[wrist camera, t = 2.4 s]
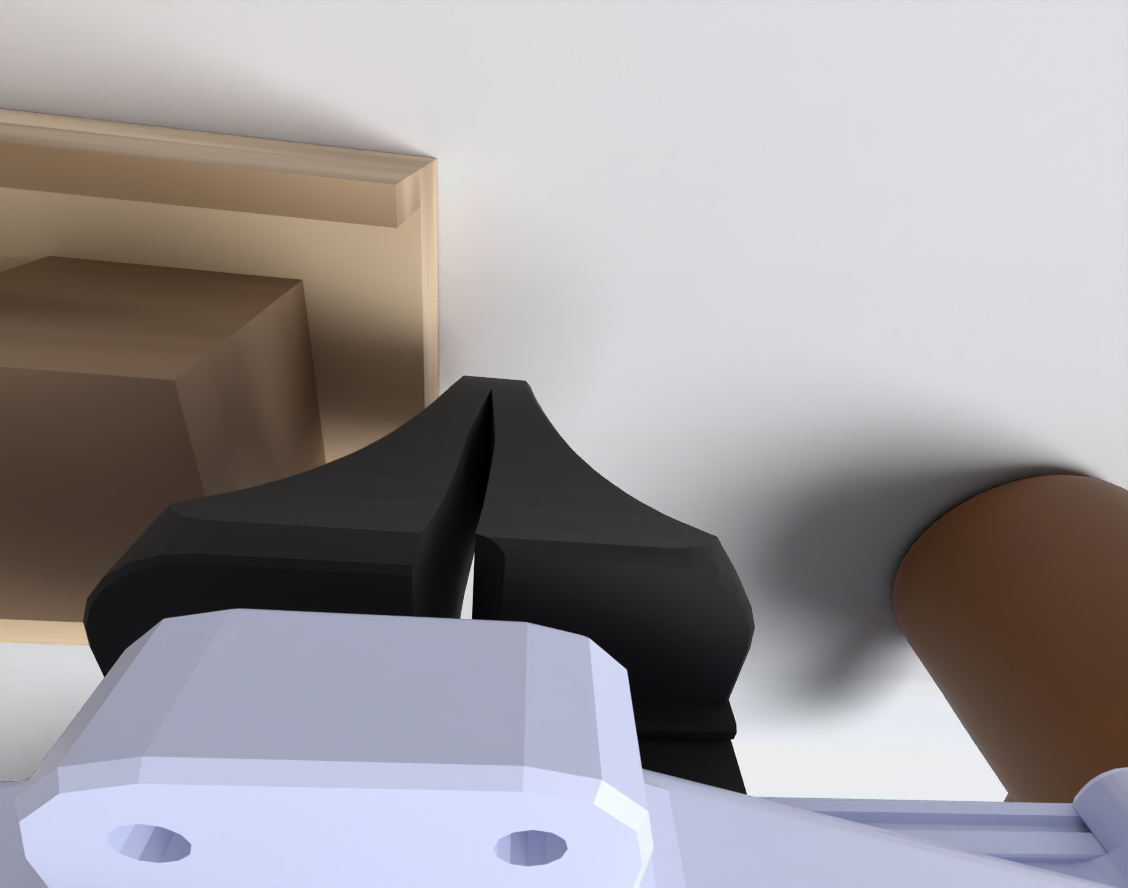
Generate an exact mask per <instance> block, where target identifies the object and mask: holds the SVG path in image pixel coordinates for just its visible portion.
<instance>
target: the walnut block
mask: <svg viewBox="0 0 1128 888" xmlns="http://www.w3.org/2000/svg"><path fill="white" fill-rule="evenodd" d="M324 464H326V459H325V451H324V444H323V436H322V428H321V420H320V412H319V404H318V397H317V389H316V381H315V373H314V365H313V357H312V350H311V342H310V334H309V326H308V318H307V310H306V303H305V295H304V287H303V280H300V279H290V278H279V277H269V276H258V275H247V274H237V273H226V272H216V271H205V270H194V269H184V268H173V267H163V266H152V265H141V264H131V263H120V262H110V261H99V260H88V259H78V258H67V257H57V256H47V257H44V258H41V259H38V260H35V261H32V262H29V263H26V264H23V265H20V266H17V267H14V268H11V269H8V270H5V271H2V272H0V619H10V620H34V621H57V622H81V623H83V618H84V612H85V607H86V601H87V598H88V597H89V595H90V594H91V593H92V591H93V590H94V589H95V587H96V586H97V584H98V583H99V582H100V580H101V579H102V578H103V577H104V576H105V575H106V573H107V572H108V571H109V570H110V569H111V568H112V567H113V566H114V565H115V563H116V562H117V561H118V560H119V559H120V558H121V557H122V556H123V554H124V553H125V552H126V551H127V550H128V549H129V548H130V547H131V546H132V544H133V543H134V542H135V541H136V540H137V539H138V538H139V537H140V535H141V534H142V533H143V532H144V531H145V530H146V529H147V528H148V527H149V526H150V525H151V524H152V522H153V521H154V520H155V519H156V518H157V517H158V516H159V515H160V514H161V513H162V512H163V511H164V510H165V509H166V508H167V507H168V506H169V505H170V504H171V503H175V502H181V501H187V500H192V499H197V498H202V497H207V496H212V495H217V494H222V493H227V492H232V491H237V490H242V489H246V488H250V487H254V486H258V485H262V484H266V483H269V482H273V481H276V480H280V479H284V478H287V477H290V476H293V475H296V474H299V473H302V472H306V471H308V470H311V469H314V468H316V467H319V466H321V465H324Z"/></svg>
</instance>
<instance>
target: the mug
mask: <svg viewBox="0 0 1128 888" xmlns="http://www.w3.org/2000/svg"><path fill="white" fill-rule="evenodd" d="M893 608H894V612H895V616H896V618H897V621H898V623H899V625H900V627H901V630H902V632H903V633H904V635H905V637H906V639H907V640H908V642H909V644H910V645H911V647H912V648H913V650H914V651H915V653H916V655H917V656H918V658H919V659H920V661H921V662H922V663H923V665H924V666H925V668H926V669H927V671H928V672H929V674H930V675H931V677H932V678H933V680H934V681H935V683H936V684H937V686H938V687H939V689H940V690H941V692H942V693H943V695H944V697H945V698H946V700H947V701H948V703H949V704H950V706H951V707H952V709H953V711H954V712H955V714H956V715H957V717H958V718H959V720H960V721H961V723H962V725H963V726H964V728H965V729H966V731H967V732H968V734H969V735H970V737H971V738H972V740H973V741H974V743H975V744H976V746H977V747H978V749H979V750H980V752H981V753H982V755H983V756H984V758H985V759H986V760H987V762H988V763H989V765H990V766H991V768H992V769H993V771H994V772H995V774H996V775H997V777H998V778H999V780H1000V781H1001V783H1002V784H1003V786H1004V787H1005V789H1006V790H1007V792H1008V795H1007V796H1006V798H1005V800H1004V802H1024V803H1072V804H1073V801H1074V798H1075V796H1076V795H1077V794H1078V793H1079V791H1080V790H1081V789H1082V788H1083V787H1084V786H1085V785H1086V784H1087V783H1088V782H1089V781H1090V780H1092V779H1094V778H1095V777H1097V776H1098V775H1100V774H1102V773H1104V772H1107V771H1110V770H1113V769H1117V768H1126V767H1128V491H1127V490H1126V489H1124V488H1121V487H1119V486H1116V485H1114V484H1112V483H1109V482H1106V481H1103V480H1100V479H1096V478H1091V477H1085V476H1076V475H1060V474H1059V475H1043V476H1037V477H1030V478H1025V479H1021V480H1017V481H1013V482H1009V483H1006V484H1004V485H1001V486H998V487H995V488H992V489H990V490H988V491H985V492H983V493H981V494H979V495H976V496H975V497H973V498H971V499H969V500H967V501H965V502H963V503H962V504H960V505H958V506H957V507H955V508H954V509H952V510H951V511H949V512H948V513H946V514H945V515H944V516H942V517H941V518H940V519H938V520H937V521H936V522H935V523H933V524H932V525H931V526H930V527H929V528H928V529H927V530H926V531H925V532H924V533H923V534H922V535H921V536H920V537H919V538H918V539H917V540H916V542H915V543H914V544H913V545H912V546H911V548H910V549H909V551H908V552H907V554H906V555H905V556H904V558H903V560H902V562H901V564H900V566H899V568H898V571H897V574H896V576H895V580H894V586H893Z"/></svg>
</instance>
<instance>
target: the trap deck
mask: <svg viewBox="0 0 1128 888" xmlns="http://www.w3.org/2000/svg"><path fill="white" fill-rule="evenodd" d="M47 256H57V257H67V258H78V259H88V260H99V261H110V262H120V263H131V264H141V265H152V266H163V267H173V268H184V269H194V270H205V271H216V272H226V273H237V274H247V275H258V276H269V277H279V278H290V279H300V280H303V287H304V295H305V303H306V310H307V318H308V326H309V334H310V342H311V350H312V357H313V365H314V373H315V381H316V389H317V397H318V404H319V412H320V420H321V428H322V436H323V444H324V451H325V459H326V463H329V462H331V461H334V460H336V459H339V458H341V457H344V456H346V455H349V454H351V453H353V452H355V451H358V450H360V449H362V448H364V447H366V446H367V445H369V444H371V443H373V442H375V441H377V440H379V439H381V438H383V437H384V436H386V435H388V434H389V433H391V432H393V431H394V430H396V429H397V428H399V427H400V426H402V425H403V424H405V423H406V422H407V421H409V420H410V419H412V418H413V417H415V416H416V415H417V414H419V413H420V412H421V411H423V410H424V409H425V408H426V407H428V406H429V405H430V404H431V403H433V402H434V401H435V400H436V399H437V398H438V397H439V359H438V189H437V158H429V157H420V156H411V155H403V154H394V153H385V152H376V151H368V150H359V149H350V148H341V147H333V146H324V145H315V144H306V143H298V142H289V141H280V140H271V139H263V138H254V137H245V136H237V135H228V134H219V133H210V132H202V131H193V130H184V129H175V128H167V127H158V126H149V125H140V124H132V123H123V122H114V121H105V120H97V119H88V118H79V117H71V116H62V115H53V114H44V113H36V112H27V111H18V110H9V109H1V108H0V272H2V271H5V270H8V269H11V268H14V267H17V266H20V265H23V264H26V263H29V262H32V261H35V260H38V259H41V258H44V257H47ZM0 642H12V643H38V644H63V645H89V643H88V639H87V635H86V631H85V627H84V624H83V623H81V622H57V621H34V620H10V619H0Z"/></svg>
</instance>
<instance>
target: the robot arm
mask: <svg viewBox="0 0 1128 888" xmlns="http://www.w3.org/2000/svg"><path fill="white" fill-rule="evenodd" d="M474 552H475V556H474ZM473 556H474V582H473V607H472V619H460V616H461V609H462V604H463V599H464V594H465V589H466V585H467V581H468V576H469V572H470V568H471V564H472V560H473ZM83 624H84V627H85V631H86V635H87V639H88V643H89V646H90V648H91V650H92V652H93V654H94V656H95V658H96V661H97V663H98V665H99V667H100V669H101V671H102V673H103V675H104V677H105V678H104V679H103V680H102V682H101V683H100V684H99V686H98V687H97V688H96V690H95V691H94V692H93V694H92V695H91V696H90V698H89V699H88V700H87V702H86V703H85V704H84V706H83V707H82V708H81V710H80V711H79V712H78V714H77V715H76V717H75V718H74V719H73V721H72V722H71V723H70V725H69V726H68V727H67V729H66V730H65V731H64V733H63V734H62V735H61V737H60V738H59V739H58V741H57V742H56V743H55V745H54V746H53V747H52V749H51V750H50V751H49V753H48V754H47V755H46V757H45V758H44V759H43V761H42V762H41V763H40V765H39V766H38V768H37V769H36V770H35V772H34V773H33V774H32V776H31V777H30V778H29V779H26V780H21V781H0V888H1128V767H1126V768H1117V769H1113V770H1110V771H1107V772H1104V773H1102V774H1100V775H1098V776H1097V777H1095V778H1094V779H1092V780H1090V781H1089V782H1088V783H1087V784H1086V785H1085V786H1084V787H1083V788H1082V789H1081V790H1080V791H1079V793H1078V794H1077V795H1076V796H1075V798H1074V801H1073V804H1072V803H1024V802H977V801H929V800H881V799H833V798H786V797H753V796H749V795H747V793H746V789H745V786H744V783H743V779H742V776H741V773H740V769H739V766H738V763H737V759H736V756H735V752H734V749H733V746H732V742H731V739H734V737H735V735H736V733H737V730H736V721H735V718H734V715H733V712H732V709H731V705H730V702H729V697H730V695H731V693H732V690H733V688H734V685H735V683H736V681H737V678H738V676H739V673H740V671H741V669H742V666H743V664H744V661H745V659H746V656H747V654H748V652H749V649H750V646H751V642H752V637H753V633H754V628H755V626H754V620H753V614H752V608H751V605H750V603H749V600H748V598H747V595H746V593H745V591H744V588H743V586H742V583H741V581H740V579H739V577H738V575H737V573H736V571H735V569H734V566H733V564H732V563H731V561H730V559H729V557H728V556H727V554H726V552H725V551H724V549H723V547H722V545H721V543H720V541H719V539H718V538H717V537H716V536H714V535H711V534H709V533H706V532H704V531H702V530H699V529H697V528H694V527H692V526H690V525H687V524H685V523H682V522H680V521H678V520H675V519H673V518H671V517H668V516H666V515H664V514H662V513H661V512H659V511H657V510H655V509H653V508H651V507H649V506H647V505H646V504H644V503H642V502H640V501H638V500H637V499H635V498H633V497H632V496H630V495H629V494H627V493H625V492H624V491H622V490H621V489H619V488H618V487H617V486H615V485H614V484H612V483H611V482H609V481H608V480H607V479H605V478H604V477H603V476H601V475H600V474H599V473H597V472H596V471H595V470H594V469H593V468H591V467H590V466H589V465H588V464H587V463H586V462H585V461H584V460H583V459H582V458H580V457H579V456H578V455H577V454H576V453H575V452H574V451H573V450H572V449H571V448H570V447H569V445H568V444H567V443H566V442H565V441H564V439H563V438H562V437H561V436H560V434H559V433H558V432H557V431H556V429H555V428H554V426H553V425H552V424H551V422H550V421H549V419H548V418H547V416H546V415H545V413H544V412H543V410H542V409H541V407H540V405H539V403H538V402H537V400H536V398H535V396H534V394H533V392H532V390H531V387H530V386H529V384H528V383H527V382H526V381H521V380H509V379H498V378H486V377H474V376H463V377H462V378H460V379H459V380H458V381H457V382H455V383H454V384H453V385H452V386H451V387H450V388H449V389H448V390H446V391H445V392H444V393H443V394H442V395H441V396H440V397H438V398H437V399H436V400H435V401H434V402H433V403H431V404H430V405H429V406H428V407H426V408H425V409H424V410H423V411H421V412H420V413H419V414H417V415H416V416H415V417H413V418H412V419H410V420H409V421H407V422H406V423H405V424H403V425H402V426H400V427H399V428H397V429H396V430H394V431H393V432H391V433H389V434H388V435H386V436H384V437H383V438H381V439H379V440H377V441H375V442H373V443H371V444H369V445H367V446H366V447H364V448H362V449H360V450H358V451H355V452H353V453H351V454H349V455H346V456H344V457H341V458H339V459H336V460H334V461H331V462H329V463H326V464H324V465H321V466H319V467H316V468H314V469H311V470H308V471H306V472H302V473H299V474H296V475H293V476H290V477H287V478H284V479H280V480H276V481H273V482H269V483H266V484H262V485H258V486H254V487H250V488H246V489H242V490H237V491H232V492H227V493H222V494H217V495H212V496H207V497H202V498H197V499H192V500H187V501H181V502H175V503H171V504H170V505H169V506H168V507H167V508H166V509H165V510H164V511H163V512H162V513H161V514H160V515H159V516H158V517H157V518H156V519H155V520H154V521H153V522H152V524H151V525H150V526H149V527H148V528H147V529H146V530H145V531H144V532H143V533H142V534H141V535H140V537H139V538H138V539H137V540H136V541H135V542H134V543H133V544H132V546H131V547H130V548H129V549H128V550H127V551H126V552H125V553H124V554H123V556H122V557H121V558H120V559H119V560H118V561H117V562H116V563H115V565H114V566H113V567H112V568H111V569H110V570H109V571H108V572H107V573H106V575H105V576H104V577H103V578H102V579H101V580H100V582H99V583H98V584H97V586H96V587H95V589H94V590H93V591H92V593H91V594H90V595H89V597H88V598H87V601H86V607H85V612H84V618H83Z"/></svg>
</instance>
